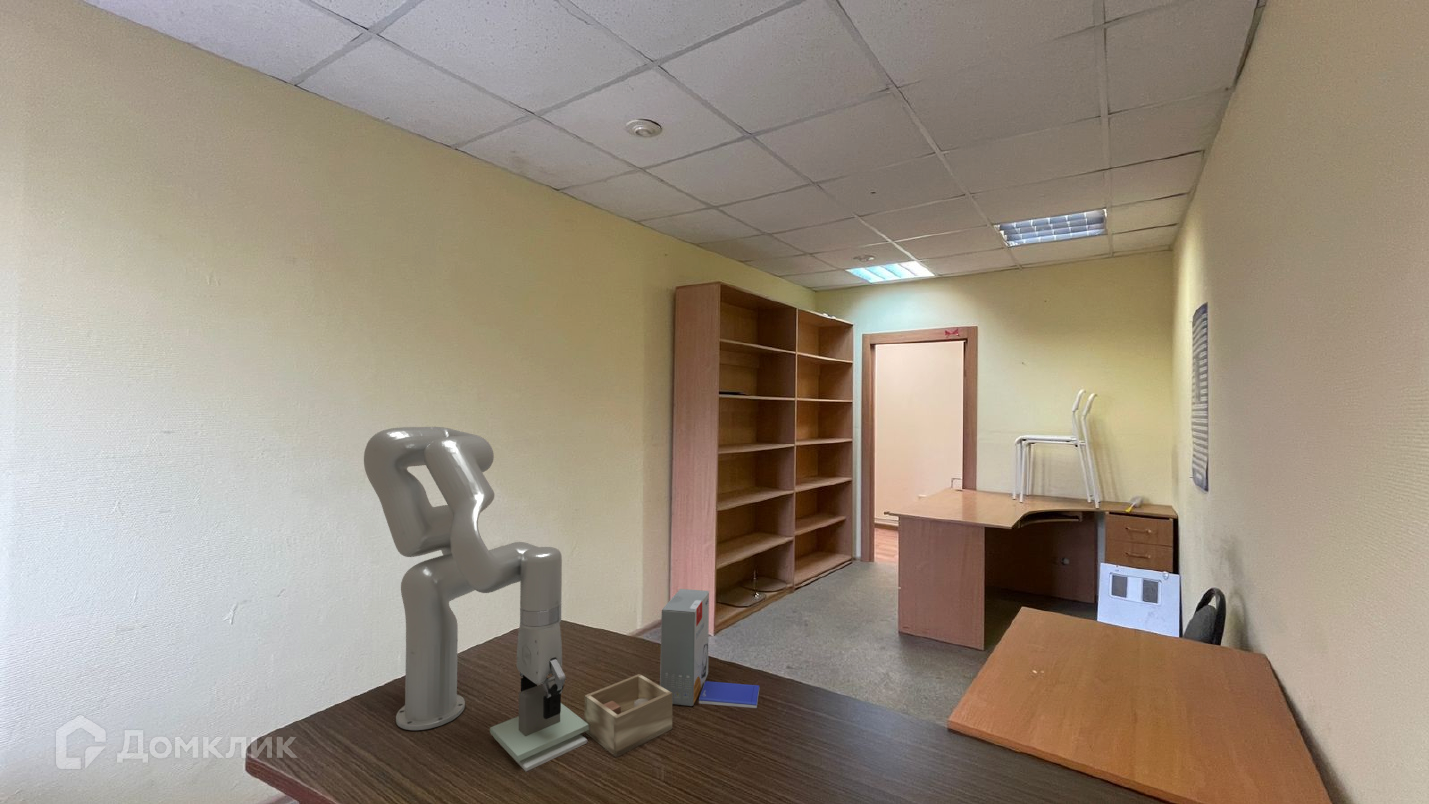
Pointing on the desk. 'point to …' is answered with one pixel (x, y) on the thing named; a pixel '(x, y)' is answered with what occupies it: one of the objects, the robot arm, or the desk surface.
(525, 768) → the mat
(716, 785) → the desk surface
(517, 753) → the lid
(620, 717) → the crate
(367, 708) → the desk surface
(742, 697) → the hard drive
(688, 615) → the hard drive box
